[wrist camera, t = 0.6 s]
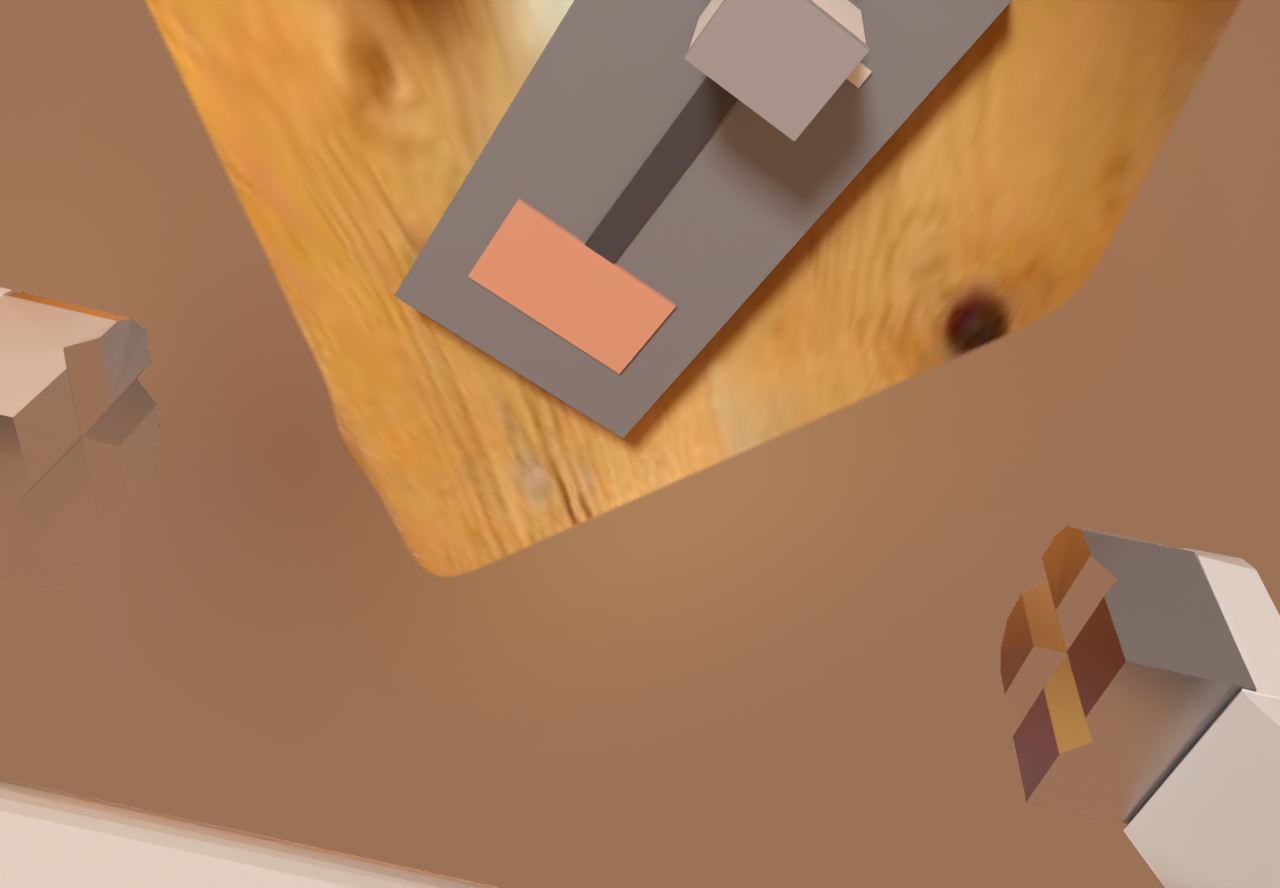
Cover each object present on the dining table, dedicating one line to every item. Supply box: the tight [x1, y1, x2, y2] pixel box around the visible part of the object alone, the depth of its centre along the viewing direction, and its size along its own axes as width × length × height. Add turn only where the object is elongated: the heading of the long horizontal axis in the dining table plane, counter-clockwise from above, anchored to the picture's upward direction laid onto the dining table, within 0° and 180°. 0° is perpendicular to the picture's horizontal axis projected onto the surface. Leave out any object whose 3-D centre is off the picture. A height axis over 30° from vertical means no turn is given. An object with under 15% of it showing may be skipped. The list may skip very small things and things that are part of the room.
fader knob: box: [684, 0, 869, 142], centre depth 39 cm, size 4×5×5 cm
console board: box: [394, 0, 1012, 439], centre depth 47 cm, size 28×14×3 cm, turn 146°
